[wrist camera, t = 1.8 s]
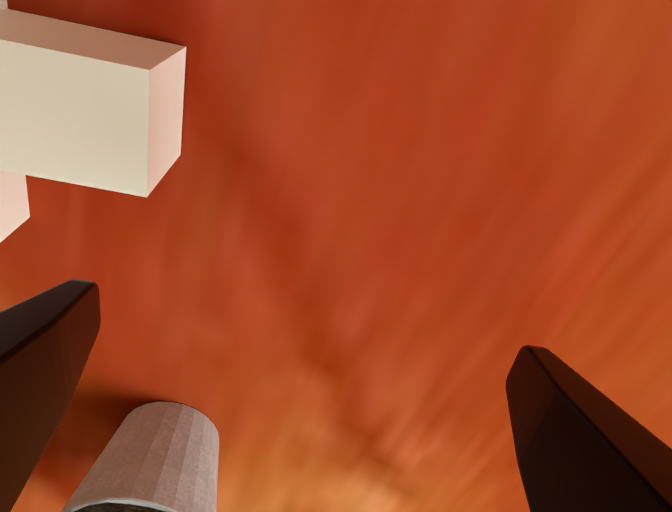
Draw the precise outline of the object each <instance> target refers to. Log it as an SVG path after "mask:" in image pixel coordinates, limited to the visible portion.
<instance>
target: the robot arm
mask: <svg viewBox="0 0 672 512" xmlns="http://www.w3.org/2000/svg"><path fill="white" fill-rule="evenodd" d="M100 322H101V317H100V299H99V288H98V285H97V284H96V283H95V282H93V281H86V280H79V279H71V280H68V281H66V282H64V283H61V284H59V285H57V286H55V287H53V288H51V289H49V290H46V291H44V292H42V293H40V294H38V295H36V296H34V297H31V298H29V299H27V300H25V301H23V302H21V303H19V304H16V305H14V306H12V307H10V308H8V309H6V310H4V311H1V312H0V512H10V511H11V510H12V508H13V506H14V504H15V502H16V501H17V499H18V497H19V495H20V493H21V492H22V490H23V488H24V486H25V484H26V483H27V481H28V479H29V477H30V475H31V473H32V472H33V470H34V468H35V466H36V464H37V463H38V461H39V459H40V457H41V455H42V454H43V452H44V450H45V448H46V446H47V445H48V443H49V441H50V439H51V437H52V436H53V434H54V432H55V430H56V428H57V427H58V425H59V423H60V421H61V419H62V417H63V415H64V413H65V412H66V410H67V408H68V405H69V403H70V401H71V399H72V396H73V394H74V391H75V389H76V386H77V384H78V382H79V379H80V377H81V374H82V372H83V369H84V367H85V364H86V362H87V359H88V357H89V354H90V352H91V350H92V347H93V345H94V342H95V340H96V337H97V335H98V332H99V328H100ZM506 394H507V400H508V406H509V413H510V419H511V426H512V432H513V439H514V445H515V452H516V457H517V462H518V467H519V471H520V475H521V479H522V482H523V486H524V490H525V493H526V497H527V501H528V505H529V508H530V512H672V449H671V448H670V447H668V446H667V445H666V444H665V443H663V442H662V441H661V440H660V439H658V438H657V437H656V436H655V435H653V434H652V433H651V432H650V431H649V430H647V429H646V428H645V427H644V426H642V425H641V424H640V423H639V422H637V421H636V420H635V419H634V418H632V417H631V416H630V415H629V414H627V413H626V412H625V411H624V410H622V409H621V408H620V407H619V406H618V405H616V404H615V403H614V402H613V401H611V400H610V399H609V398H608V397H606V396H605V395H604V394H603V393H601V392H600V391H599V390H598V389H596V388H595V387H594V386H593V385H591V384H590V383H589V382H588V381H587V380H585V379H584V378H583V377H582V376H580V375H579V374H578V373H577V372H575V371H574V370H573V369H572V368H570V367H569V366H568V365H567V364H565V363H564V362H563V361H562V360H561V359H559V358H558V357H557V356H556V355H554V354H553V353H552V352H551V351H549V350H548V349H546V348H544V347H537V346H531V345H525V346H523V347H522V348H521V349H520V351H519V353H518V355H517V357H516V359H515V361H514V363H513V365H512V368H511V370H510V372H509V374H508V376H507V380H506Z"/></svg>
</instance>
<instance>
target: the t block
mask: <svg viewBox="0 0 672 512" xmlns="http://www.w3.org/2000/svg"><path fill="white" fill-rule="evenodd" d="M185 62H186V46H181V45H177V44H172V43H167V42H162V41H158V40H153V39H148V38H143V37H139V36H134V35H129V34H125V33H120V32H115V31H110V30H106V29H101V28H96V27H92V26H87V25H82V24H77V23H73V22H68V21H63V20H59V19H54V18H49V17H44V16H40V15H35V14H30V13H25V12H21V11H16V10H11V9H8V5H7V0H0V242H1V241H3V240H4V239H5V238H6V237H7V236H8V235H10V234H11V233H12V232H13V231H14V230H15V229H17V228H18V227H19V226H20V225H21V224H22V223H24V222H25V221H26V220H27V219H28V218H29V217H30V213H29V204H28V194H27V185H26V175H29V176H35V177H40V178H46V179H51V180H56V181H62V182H67V183H72V184H78V185H83V186H89V187H94V188H99V189H105V190H110V191H115V192H121V193H126V194H132V195H137V196H142V197H147V196H148V195H149V194H150V193H151V191H152V190H153V189H154V188H155V186H156V185H157V184H158V183H159V181H160V180H161V179H162V177H163V176H164V175H165V174H166V172H167V171H168V170H169V169H170V167H171V166H172V165H173V163H174V162H175V161H176V160H177V158H178V157H179V156H180V155H181V136H182V118H183V99H184V80H185Z"/></svg>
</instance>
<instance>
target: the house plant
mask: <svg viewBox="0 0 672 512" xmlns="http://www.w3.org/2000/svg"><path fill="white" fill-rule="evenodd" d="M218 453H219V437H218V431H217V429H216V428H215V426H214V424H213V423H212V422H211V421H210V419H209V418H208V417H207V416H206V415H204V414H202V413H201V412H199V411H198V410H196V409H194V408H192V407H189V406H187V405H184V404H179V403H174V402H153V403H147V404H144V405H142V406H139V407H137V408H135V409H134V410H133V411H131V412H130V413H129V414H128V415H127V416H126V418H125V419H124V421H123V422H122V424H121V425H120V427H119V428H118V430H117V431H116V432H115V434H114V435H113V437H112V438H111V440H110V441H109V443H108V444H107V446H106V447H105V448H104V450H103V451H102V453H101V454H100V456H99V457H98V459H97V460H96V462H95V463H94V464H93V466H92V467H91V469H90V470H89V472H88V473H87V475H86V476H85V478H84V479H83V480H82V482H81V483H80V485H79V486H78V488H77V489H76V491H75V492H74V494H73V495H72V496H71V498H70V499H69V501H68V502H67V504H66V505H65V507H64V508H63V509H62V511H61V512H216V503H217V478H218Z"/></svg>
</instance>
